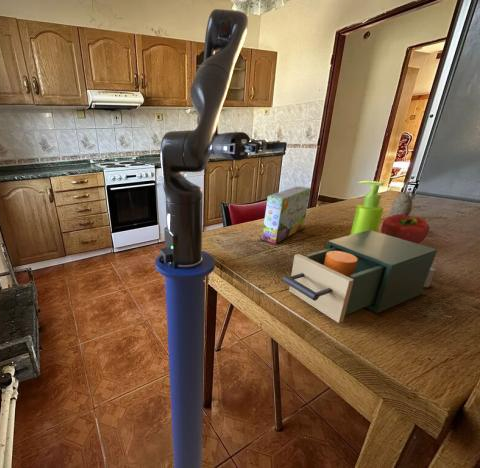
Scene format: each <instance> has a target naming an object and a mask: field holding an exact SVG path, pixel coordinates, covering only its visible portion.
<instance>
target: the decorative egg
mask: <svg viewBox="0 0 480 468" xmlns="http://www.w3.org/2000/svg"><path fill="white" fill-rule="evenodd" d="M412 209H413V200H412V197H411V195H410V194H409V193H407V192H403V193H401V194H399V195H398V196H397V197H396V198H395V200H394V201H393V202H392V204H391V207H390V211H389V212H390V215H391V217H392V216H394V215H398V214H402V215H407V216H410V214H411V212H412Z"/></svg>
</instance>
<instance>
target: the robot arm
mask: <svg viewBox="0 0 480 468" xmlns="http://www.w3.org/2000/svg"><path fill="white" fill-rule="evenodd" d="M248 19H249V18H248V15H247V13H245V12H244V11H242V10H241V11H240V10H233V9H232V10H231V9H222V8H215V9H213V10H211V12H210V14H209V15H208V19H207V23H206V29H205V35H204V36H205V37H204V49H203V62H202V63H201V64H200V65H199V66H198V68H197V70H196V72H195V75H194V78H193V80H192V83H191V86H190V89H189V90H190V91H189V96H190V101H191V104H192V106H193V109H194V111H195V113H196V115H197V117H196V122H197V127H195V129H192V130H189V129H188V130H172V131H168V132H167V131H166V133H164V135H163V137H162V139H161V142H160V147H159V149H160V150H159V151H160V153H159V154H160V166H161V176H162V186H163V187H162V188H163V192H164V195H165V214H166V216H165V217H166V218H165V219H166V226H165V227H164V228H163V233H164V247H162V248H159V250H158V251H159V255H160V257H159V258H158V261H159V262H160V263H162V264H164V263H169V264H170V265H171V266H172V267H173V268H174V269H176V268H182V269H187V268H194V267H196V266H198V265H200V264H201V263H202V251H203V207H204V206H203V199H204V197H203V195H204V194H203V189H202V188H201V187H200V186H199V185H198V184H195V183H193V182H191V181H189V180H188V179H187V177H185V174H184V173H201V172H203V171H204V170H205V169H206V168H207V166H208V164H209V161H210V158H211V157H214V158H220V159H223V160H229V161H242V160H245V158H247V157H248V156H249V155H258V154H265V153H267V152H271V153H275V152H278V153H279V152H283V153H285V152H286V151H287V145H288V143H287V142H286V141H281V140H279V139H278V140H268V139H257V138H251V137H250V136H249V134H247V133H246V132H243V131H235V132H234V131H233V132H223V133H219V119H220V115H221V112H222V109H223V106H224V102H225V99H226V98H227V94H228V91H229V88H230V85H231V82H232V81H231V80H232V77H233V72H234V69H235V65H236V63H237V61H238V58H239V56H240V53H241V50H242V48H243V46H244V43H245V39H246V36H247V33H248V27H249V20H248Z"/></svg>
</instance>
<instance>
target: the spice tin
mask: <svg viewBox="0 0 480 468" xmlns="http://www.w3.org/2000/svg"><path fill="white" fill-rule="evenodd" d="M357 261H358V259H357V257H355V256H354V255H352V254H349V253H346V252H342V251H329V252H327V253H326V257H325V262H324V266H326V267H328V268H330V269H332V270H334V271H336V272H339V273H341V274H343V275H345V276H347V277H349V278H350V275H352V274H354V273H355V269H356V265H357Z"/></svg>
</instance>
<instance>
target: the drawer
mask: <svg viewBox="0 0 480 468" xmlns="http://www.w3.org/2000/svg"><path fill="white" fill-rule="evenodd" d="M329 251H342V252H346V251H344V250H341V249H339V248H336V247H333V248H329V249H326V248H325V249H322V250H318V251H315V252H311V253H306V254H305V255H303V254H301V253H297V254H294V256H293V262H292V268H291V269H292V270H291V275H290V276H289V275H287V274H286V275H284V276H283V278H282V282H283V283H285V284H287V285H288V286H289V288H288V291H289V292H290V293H292V294H293V295H295V296H296V297H298V298H300V299H301V300H302V301H304V302H306V304H308V305H310V306H312V307H313V308H314V309H317V310H318V311H319V312H321V313H322V314H324V315H325V316H327V317H329V318H330V319H332V320H333V321H334V322H336V323H337V324H340V323H342V322H344V319H345V316H347V315H350V314H352V313H354V312H357V311H359V310H361V309H363V308H366V306H369V305H371V304H374V303H376V300H377V296H378V293H379V290H380V287H381V283H382V280H383V277H384V274H385V271H386V267H385V266H382V265H380V264H377V263H375V262H372V261H370V260H367V259H364V258H362V257H359V256H357V255H354V254H352V255H354V256H355V257H357V259H358V261H357V265H356V269H355V273H354V274H352V275H350V278H349V277H347V276H345V275H343V274H341V273H339V272H336V271H334V270H332V269H330V268H328V267H326V266H324V262H325V257H326V253H327V252H329ZM346 253H349V252H346ZM349 254H351V253H349Z"/></svg>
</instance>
